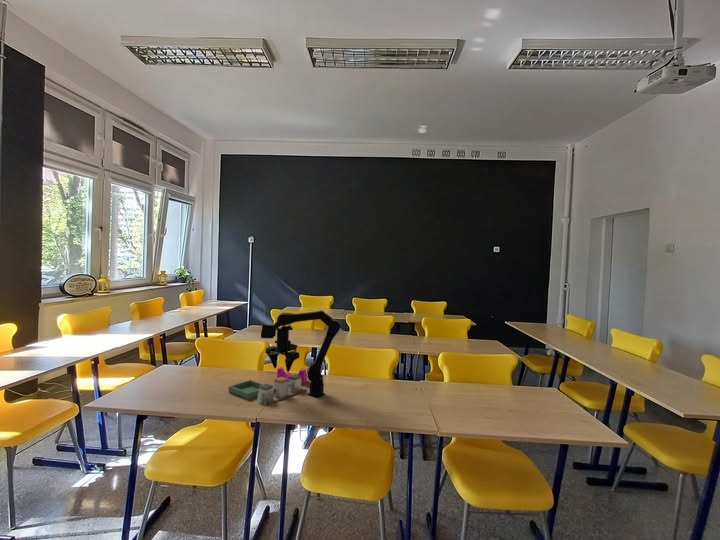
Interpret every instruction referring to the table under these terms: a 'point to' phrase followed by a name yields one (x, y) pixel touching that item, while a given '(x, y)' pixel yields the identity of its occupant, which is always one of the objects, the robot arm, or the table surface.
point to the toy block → (282, 374)
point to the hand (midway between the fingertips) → (281, 370)
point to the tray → (245, 389)
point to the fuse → (281, 386)
